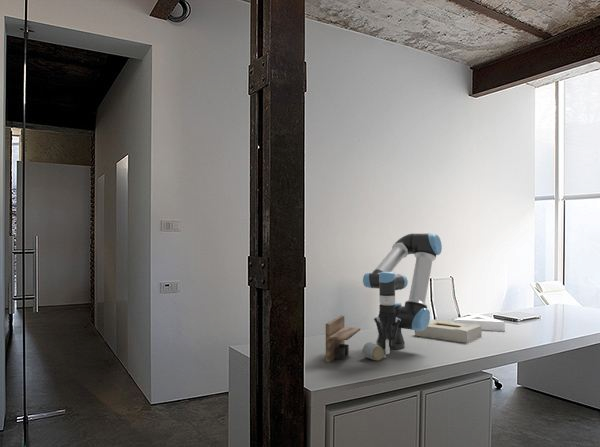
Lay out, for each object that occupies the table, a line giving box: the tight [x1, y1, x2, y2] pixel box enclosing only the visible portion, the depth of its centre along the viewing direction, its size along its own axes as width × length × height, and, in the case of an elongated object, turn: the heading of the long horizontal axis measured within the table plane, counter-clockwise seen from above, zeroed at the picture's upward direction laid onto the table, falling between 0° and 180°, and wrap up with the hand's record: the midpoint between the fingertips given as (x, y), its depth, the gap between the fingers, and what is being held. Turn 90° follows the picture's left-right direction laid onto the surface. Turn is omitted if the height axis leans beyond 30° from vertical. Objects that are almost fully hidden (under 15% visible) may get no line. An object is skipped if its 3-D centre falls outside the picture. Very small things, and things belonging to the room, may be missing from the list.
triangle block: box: [453, 313, 506, 332], centre depth 317 cm, size 30×26×6 cm
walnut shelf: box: [325, 314, 361, 363], centre depth 238 cm, size 10×26×18 cm, turn 159°
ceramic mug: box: [362, 341, 387, 362], centre depth 234 cm, size 11×8×8 cm
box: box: [414, 319, 483, 344], centre depth 287 cm, size 23×8×32 cm
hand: (387, 353), depth 231 cm, fingers closed
